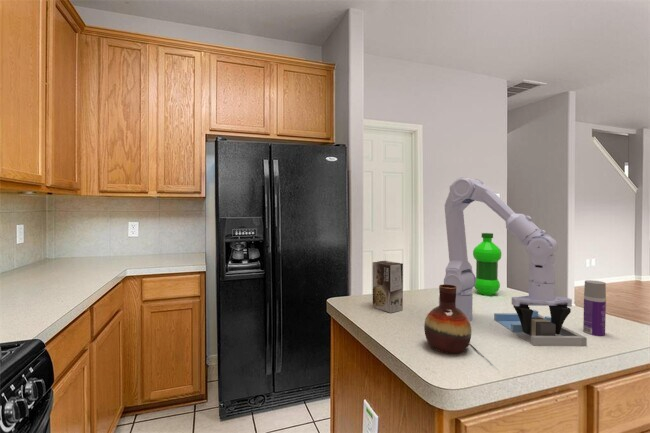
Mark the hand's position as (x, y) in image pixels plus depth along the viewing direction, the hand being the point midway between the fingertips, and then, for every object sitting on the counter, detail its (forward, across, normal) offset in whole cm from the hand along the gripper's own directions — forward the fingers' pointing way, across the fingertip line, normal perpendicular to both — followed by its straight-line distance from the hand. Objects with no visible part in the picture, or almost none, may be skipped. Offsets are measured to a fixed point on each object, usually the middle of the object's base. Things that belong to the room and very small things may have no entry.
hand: (540, 333), depth 88 cm
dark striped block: (+1, 0, 0) cm, 1 cm away
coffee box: (+2, -35, +29) cm, 45 cm away
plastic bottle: (+2, +10, +51) cm, 52 cm away
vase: (+2, -26, -4) cm, 26 cm away
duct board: (+2, +2, +5) cm, 5 cm away
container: (+2, +17, +4) cm, 18 cm away
